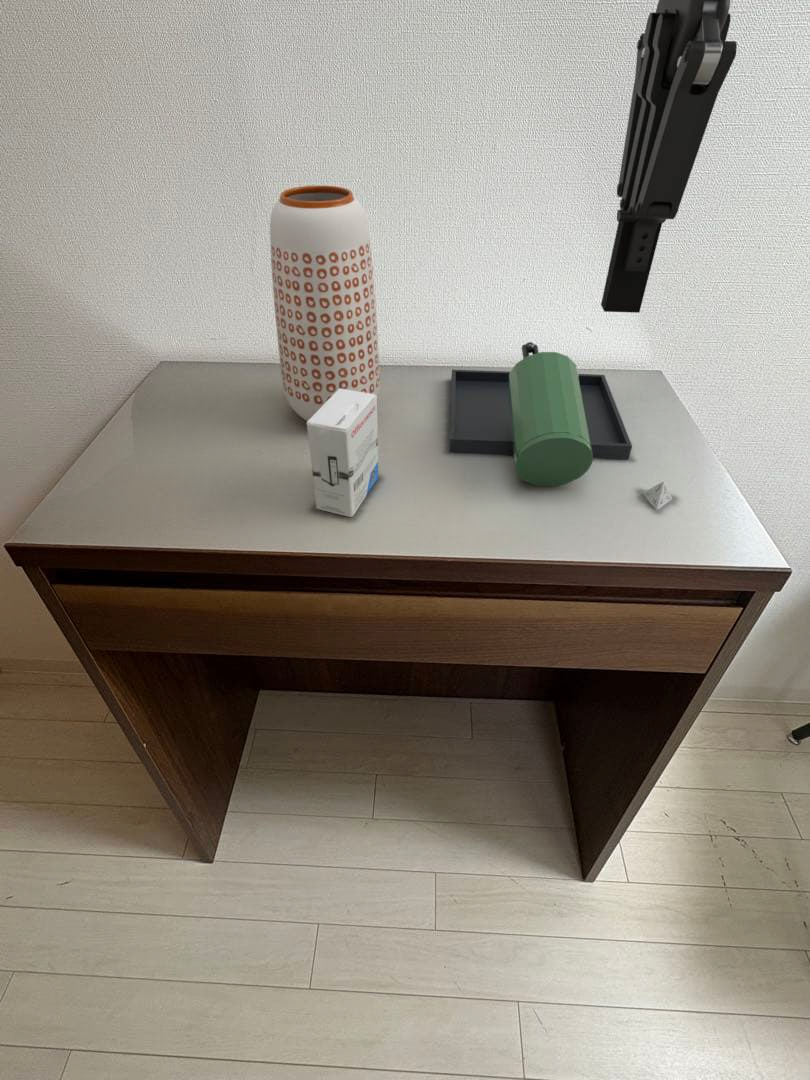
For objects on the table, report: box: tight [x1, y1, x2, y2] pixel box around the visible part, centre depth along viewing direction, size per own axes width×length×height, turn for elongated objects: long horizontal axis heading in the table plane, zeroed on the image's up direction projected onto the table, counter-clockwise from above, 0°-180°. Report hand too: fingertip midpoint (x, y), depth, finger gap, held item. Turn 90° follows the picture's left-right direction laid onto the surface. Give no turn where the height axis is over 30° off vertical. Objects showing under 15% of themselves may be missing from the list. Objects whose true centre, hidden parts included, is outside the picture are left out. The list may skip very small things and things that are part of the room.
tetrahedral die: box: [642, 481, 673, 511], centre depth 72 cm, size 4×3×3 cm
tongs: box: [521, 341, 540, 360], centre depth 82 cm, size 2×11×21 cm
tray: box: [449, 369, 633, 460], centre depth 88 cm, size 23×20×2 cm
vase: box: [269, 185, 381, 422], centre depth 79 cm, size 13×13×28 cm
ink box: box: [306, 388, 379, 518], centre depth 70 cm, size 9×5×12 cm, turn 160°
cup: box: [507, 351, 594, 487], centre depth 75 cm, size 9×9×14 cm
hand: (620, 308), depth 49 cm, fingers closed
